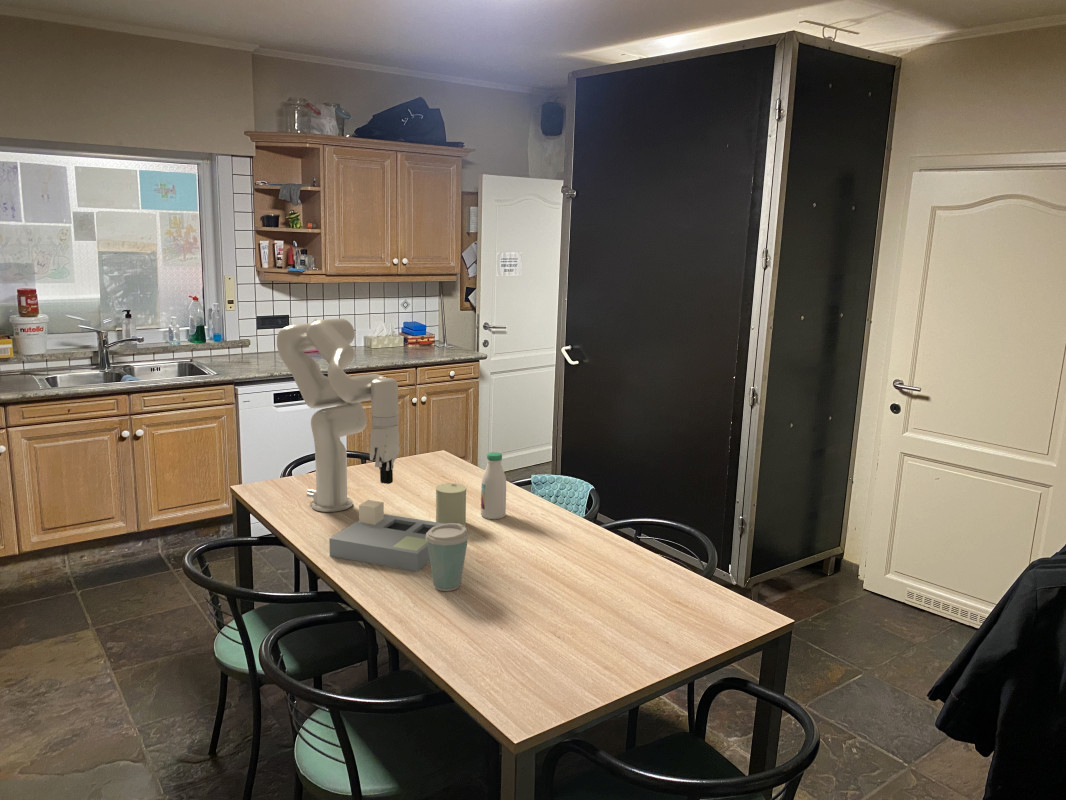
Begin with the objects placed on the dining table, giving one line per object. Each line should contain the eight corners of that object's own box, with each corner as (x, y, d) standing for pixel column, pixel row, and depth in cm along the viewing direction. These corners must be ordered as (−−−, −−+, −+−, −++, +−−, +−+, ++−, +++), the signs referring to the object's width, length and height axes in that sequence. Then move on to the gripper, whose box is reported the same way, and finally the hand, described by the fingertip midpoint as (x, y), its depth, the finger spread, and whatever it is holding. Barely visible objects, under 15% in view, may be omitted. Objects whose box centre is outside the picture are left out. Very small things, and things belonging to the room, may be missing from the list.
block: (359, 522, 219) (358, 505, 218) (368, 516, 224) (368, 499, 223) (374, 524, 218) (374, 507, 217) (383, 518, 222) (383, 502, 221)
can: (468, 520, 238) (469, 482, 235) (463, 531, 229) (463, 492, 226) (439, 518, 239) (439, 480, 236) (432, 528, 230) (432, 490, 227)
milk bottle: (509, 514, 244) (511, 452, 240) (498, 521, 237) (500, 458, 233) (488, 509, 247) (489, 449, 243) (476, 517, 240) (477, 454, 236)
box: (329, 556, 208) (329, 538, 207) (371, 528, 229) (371, 512, 227) (417, 571, 200) (417, 553, 199) (452, 541, 221) (452, 524, 220)
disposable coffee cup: (433, 598, 186) (434, 539, 183) (418, 580, 195) (418, 524, 192) (474, 590, 191) (475, 533, 188) (458, 573, 200) (458, 518, 197)
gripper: (386, 415, 231) (387, 474, 234) (360, 425, 217) (361, 488, 220) (409, 417, 228) (410, 477, 232) (383, 427, 214) (385, 491, 218)
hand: (386, 482), depth 226 cm, fingers closed
